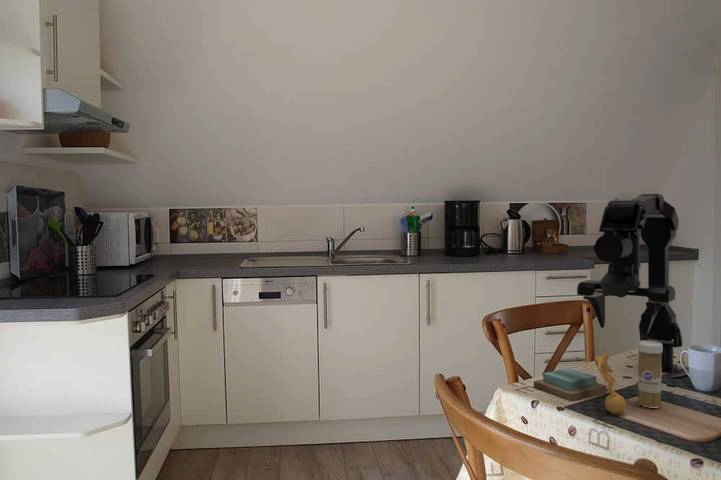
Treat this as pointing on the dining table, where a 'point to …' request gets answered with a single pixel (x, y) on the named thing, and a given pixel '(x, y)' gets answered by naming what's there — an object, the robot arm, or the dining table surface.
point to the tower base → (570, 393)
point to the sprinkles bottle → (649, 373)
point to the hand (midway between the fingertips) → (624, 330)
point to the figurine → (614, 400)
